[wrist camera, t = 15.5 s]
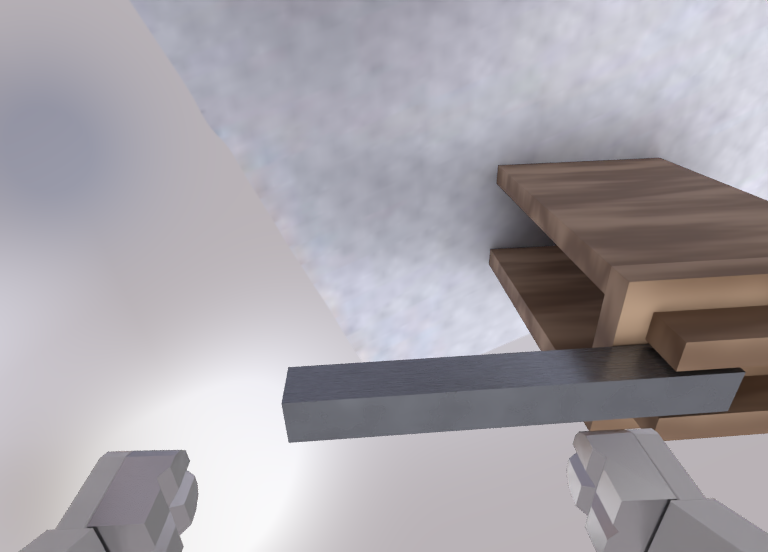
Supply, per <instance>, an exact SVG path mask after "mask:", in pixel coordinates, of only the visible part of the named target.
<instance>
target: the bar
mask: <svg viewBox="0 0 768 552" xmlns="http://www.w3.org/2000/svg"><path fill="white" fill-rule="evenodd" d="M745 373H746V372H745V371H744V370H743V369H741V368H740V367H736V368H721V369H706V370H692V371H677V372H676V371H675V370H674V369H673V368H672V367H671V366H670V365H669V364H668V363H667V362H666V360H665V359H664V358H663V357H662V356H661V355H660V354H659V353H658V352H657V351H656V350H655V349H654V348H653V347H652V346H651V345H650V344H643V345H627V346H612V347H596V348H581V349H565V350H550V351H535V352H520V353H504V354H488V355H472V356H457V357H441V358H426V359H410V360H395V361H379V362H364V363H348V364H333V365H319V366H318V365H317V366H302V367H288V372H287V378H286V383H285V388H284V393H283V399H282V408H283V414H284V419H285V425H286V430H287V435H288V441H289V443H291V442H305V441H318V440H333V439H347V438H361V437H375V436H388V435H403V434H417V433H430V432H444V431H459V430H472V429H486V428H501V427H515V426H528V425H543V424H556V423H571V422H585V421H599V420H613V419H627V418H640V417H654V416H668V415H682V414H696V413H710V412H724V411H728V410H729V408H730V406H731V403H732V401H733V399H734V397H735V395H736V392H737V390H738V388H739V386H740V384H741V381H742V379H743V377H744V375H745Z"/></svg>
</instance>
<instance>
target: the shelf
mask: <svg viewBox="0 0 768 552" xmlns="http://www.w3.org/2000/svg"><path fill="white" fill-rule="evenodd" d="M497 184H498V185H499V186H500V187H501V189H502V190H503V191H504V192H505V193H506V194H507V195H508V196H509V197H510V198H511V199H512V200H513V201H514V202H515V203H516V204H517V205H518V206H519V207H520V208H521V209H522V210H523V211H524V212H525V213H526V214H527V215H528V216H529V217H530V218H531V219H532V220H533V221H534V222H535V223H536V224H537V225H538V226H539V227H540V228H541V229H542V230H543V231H544V233H545V234H546V235H547V236H548V237H549V238H550V239H551V240H552V241H553V242H554V243H555V244H556V245H557V246H542V247H524V248H505V249H490V260H489V265H490V267H491V268H492V270H493V272H494V273H495V275H496V277H497V278H498V280H499V282H500V283H501V285H502V287H503V288H504V290H505V292H506V293H507V295H508V297H509V298H510V300H511V302H512V303H513V305H514V307H515V308H516V310H517V312H518V313H519V315H520V317H521V318H522V320H523V322H524V323H525V325H526V327H527V328H528V330H529V332H530V333H531V335H532V336H533V338H534V340H535V341H536V343H537V345H538V347H539V348H540V350H541V351H550V350H565V349H581V348H596V347H612V346H627V345H643V344H650V345H651V346H652V347H653V348H654V349H655V350H656V351H657V352H658V353H659V354H660V355H661V356H662V357H663V358H664V359H665V360H666V362H667V363H668V364H669V365H670V366H671V367H672V368H673V369H674V370H675V371H676V372H677V371H692V370H706V369H721V368H736V367H740V368H741V369H743V370H744V371H745V372H746V373H745V375H744V377H743V379H742V381H741V384H740V386H739V388H738V390H737V392H736V395H735V397H734V399H733V401H732V403H731V406H730V408H729V410H728V411H724V412H710V413H696V414H682V415H668V416H654V417H640V418H627V419H613V420H599V421H585V422H584V423H585V425H586V426H587V428H588V430H589V431H599V430H617V429H636V428H641V429H646V428H652V429H653V430H655V431H656V432H657V433H658V434H659V435H660V436H661V438H662V439H663V441H670V440H683V439H696V438H711V437H724V436H738V435H750V434H765V433H768V201H767V200H764V199H762V198H759V197H757V196H754V195H752V194H749V193H747V192H744V191H742V190H739V189H737V188H734V187H732V186H729V185H727V184H724V183H722V182H719V181H717V180H714V179H712V178H709V177H706V176H704V175H701V174H699V173H696V172H694V171H691V170H689V169H686V168H684V167H681V166H679V165H676V164H674V163H671V162H669V161H666V160H664V159H661V158H647V159H626V160H604V161H582V162H561V163H539V164H518V165H498V173H497Z"/></svg>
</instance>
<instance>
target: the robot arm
mask: <svg viewBox="0 0 768 552" xmlns="http://www.w3.org/2000/svg"><path fill="white" fill-rule="evenodd" d="M573 446H574V448H575V450H576V454H574V455H573V456H572V457H571V458H569V461H568V466H567V481H568V486H569V490H570V493H571V496H572V498H573V501H574V503H575V505H576V506H577V507H578V508H579V509H580V510H581V511H583V512H584V513H585V514H586V515H587V516H588V517H587V521H586V525H585V528H586V530H587V532H588V535H589V537H590V539H591V541H592V543H593V546H594V548H595V550H596V552H768V533H766V532H765V531H763V530H762V529H760V528H759V527H757V526H756V525H754V524H753V523H751V522H749V521H748V520H746V519H745V518H743V517H742V516H740V515H739V514H737V513H736V512H734V511H733V510H731V509H730V508H728V507H727V506H725V505H723V504H722V503H720V502H719V501H717V500H716V499H714V498H711V499H709V498H706V497H705V496H704V495H703V493H702V492H701V491H700V489H699V488H698V487H697V485H696V484H695V482H694V481H693V480H692V478H691V477H690V476H689V474H688V473H687V472H686V470H685V469H684V468H683V466H682V465H681V464H680V462H679V461H678V459H677V458H676V457H675V455H674V454H673V453H672V452H671V450H670V449H669V447H668V446H667V445H666V443H665V442H664V441H663V439H662V438H661V436H660V435H659V434H658V433H657V432H656V431H655V430H653V429H652V428H646V429H627V430H624V429H617V430H599V431H583V432H579V433H577V434H576V435H575V438H574V441H573ZM189 462H190V460H189V458H188V455H187V453H186V451H185V450H152V451H116V452H107V453H106V454H105V455H103V456H102V457H101V458H100V459H99V460H98V462H97V464H96V465H95V467H94V468H93V470H92V471H91V473H90V475H89V476H88V478H87V480H86V481H85V483H84V484H83V486H82V487H81V489H80V491H79V492H78V494H77V495H76V497H75V499H74V500H73V502H72V503H71V505H70V507H69V508H68V510H67V512H66V513H65V515H64V516H63V518H62V519H61V521H60V522H59V524H58V526H57V527H56V529H55V530H46V531H45V532H44V533H43V534H41V535H40V536H39V537H37V538H36V539H35V540H33V541H32V542H31V543H30V544H28V545H27V546H26V547H24V548H23V549H22V550H20V551H19V552H182V549H183V544H182V541H181V538H180V534H182V532H184V531H185V530H186V529H187V528H188V527H189V526H190V525H191V523H192V521H193V518H194V515H195V512H196V507H197V500H198V485H197V481H196V478H195V476H194V475H193V474H191V473H190V472H189V471H187V467H188V465H189Z"/></svg>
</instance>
